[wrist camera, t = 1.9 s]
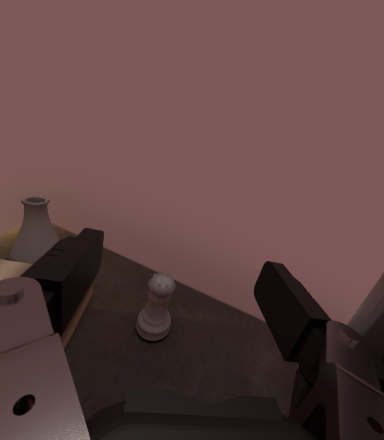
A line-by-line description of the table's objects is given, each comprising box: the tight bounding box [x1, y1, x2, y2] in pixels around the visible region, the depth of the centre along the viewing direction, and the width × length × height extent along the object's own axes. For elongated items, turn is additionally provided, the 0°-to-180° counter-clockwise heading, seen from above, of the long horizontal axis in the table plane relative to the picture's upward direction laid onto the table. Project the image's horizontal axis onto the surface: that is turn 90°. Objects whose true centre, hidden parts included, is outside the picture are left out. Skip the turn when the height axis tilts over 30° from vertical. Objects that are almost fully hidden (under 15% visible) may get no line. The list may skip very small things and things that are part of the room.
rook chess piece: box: [136, 272, 176, 341], centre depth 26 cm, size 4×4×8 cm
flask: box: [7, 196, 60, 264], centre depth 33 cm, size 7×7×10 cm
